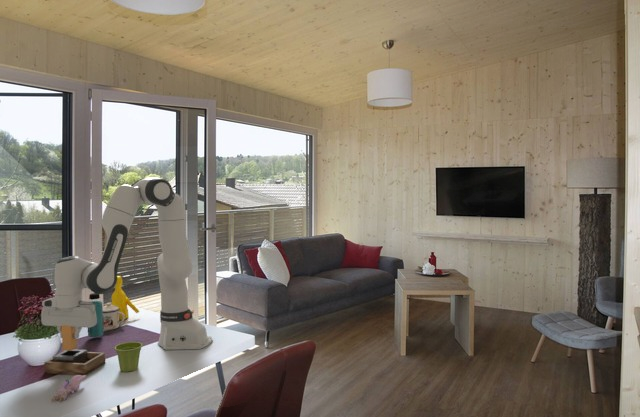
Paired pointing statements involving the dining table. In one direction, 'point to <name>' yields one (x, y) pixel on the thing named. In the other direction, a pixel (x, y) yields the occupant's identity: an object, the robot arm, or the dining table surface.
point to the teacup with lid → (111, 317)
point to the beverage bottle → (98, 328)
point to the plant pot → (128, 355)
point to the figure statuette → (121, 299)
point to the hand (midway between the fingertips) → (69, 337)
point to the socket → (71, 356)
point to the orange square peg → (68, 338)
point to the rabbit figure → (69, 387)
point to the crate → (76, 365)
